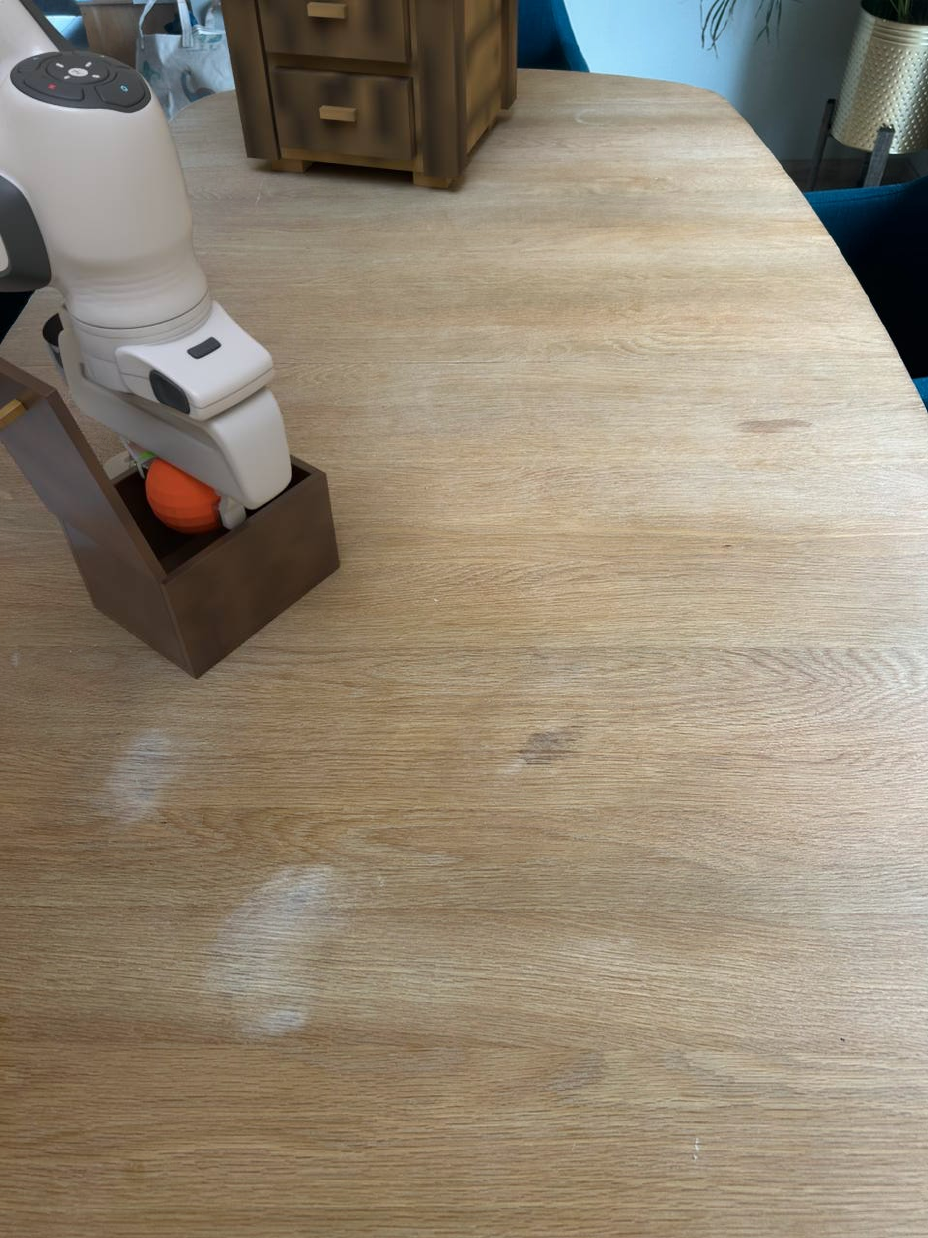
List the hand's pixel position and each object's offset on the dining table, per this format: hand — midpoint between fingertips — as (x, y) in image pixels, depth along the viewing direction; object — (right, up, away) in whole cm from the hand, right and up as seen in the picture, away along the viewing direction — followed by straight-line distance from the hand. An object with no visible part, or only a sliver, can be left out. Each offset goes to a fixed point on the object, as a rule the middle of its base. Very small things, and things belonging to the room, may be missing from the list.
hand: (193, 499), depth 75 cm
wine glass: (-10, +5, +18) cm, 21 cm away
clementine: (0, -2, +2) cm, 3 cm away
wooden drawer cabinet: (+9, +60, +71) cm, 94 cm away
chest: (0, -6, +6) cm, 9 cm away
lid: (-6, +2, -11) cm, 13 cm away
